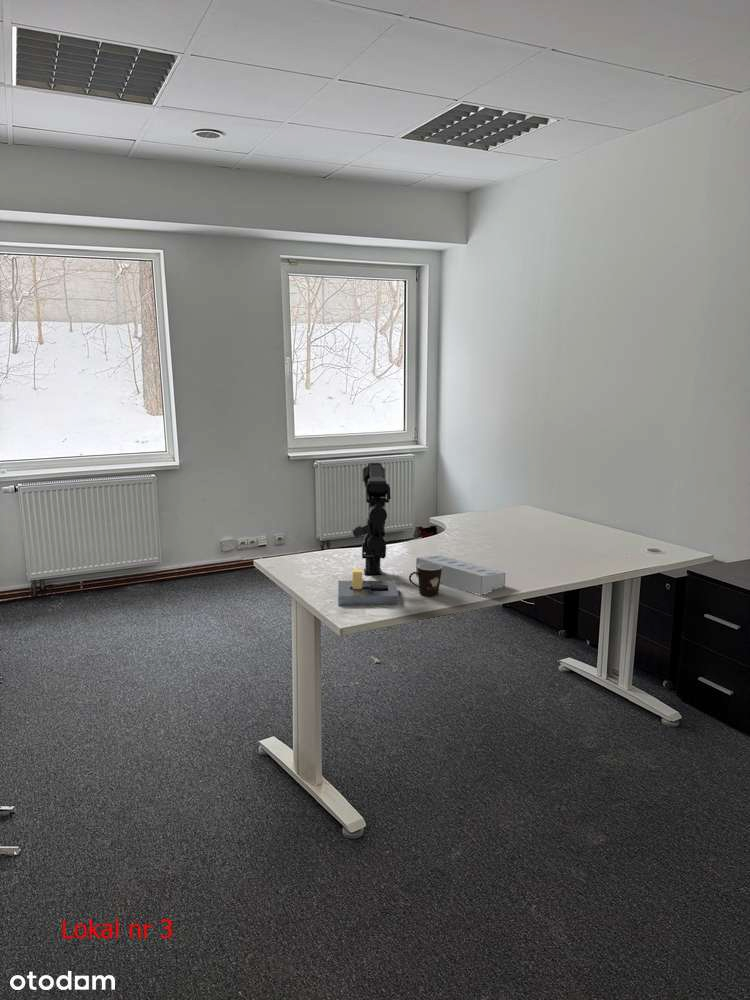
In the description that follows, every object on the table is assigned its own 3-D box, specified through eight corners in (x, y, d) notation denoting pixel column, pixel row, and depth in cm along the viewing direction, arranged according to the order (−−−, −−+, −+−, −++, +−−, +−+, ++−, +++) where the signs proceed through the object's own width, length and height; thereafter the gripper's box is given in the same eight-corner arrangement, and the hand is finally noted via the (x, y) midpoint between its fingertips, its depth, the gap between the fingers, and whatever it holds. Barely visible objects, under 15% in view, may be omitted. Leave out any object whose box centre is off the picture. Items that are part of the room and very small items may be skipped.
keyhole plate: (338, 589, 246) (338, 580, 245) (394, 589, 247) (395, 580, 246) (338, 605, 231) (338, 596, 230) (398, 605, 231) (398, 596, 231)
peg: (350, 594, 241) (350, 568, 239) (363, 594, 241) (363, 568, 239) (350, 599, 236) (351, 572, 234) (363, 599, 237) (364, 572, 235)
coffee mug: (439, 589, 247) (440, 562, 245) (442, 598, 239) (443, 570, 237) (406, 589, 247) (407, 562, 245) (408, 598, 238) (409, 570, 236)
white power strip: (504, 587, 251) (505, 567, 250) (480, 597, 241) (481, 576, 240) (440, 569, 272) (441, 550, 270) (416, 577, 262) (416, 557, 260)
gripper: (353, 509, 248) (353, 551, 251) (352, 523, 229) (352, 568, 233) (384, 509, 248) (384, 551, 251) (386, 523, 230) (385, 568, 233)
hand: (376, 559), depth 242 cm, fingers open, 9 cm apart
